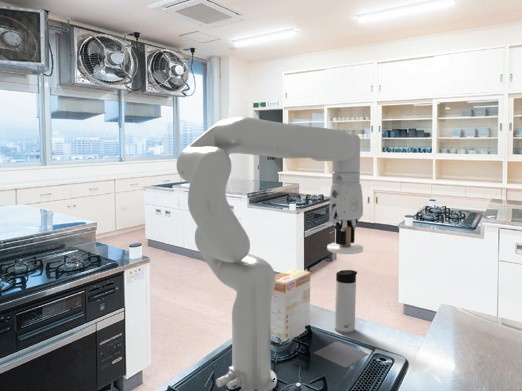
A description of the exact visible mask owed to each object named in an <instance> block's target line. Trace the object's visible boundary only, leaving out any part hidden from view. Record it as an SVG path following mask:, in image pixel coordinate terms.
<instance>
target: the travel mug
mask: <svg viewBox="0 0 522 391" xmlns="http://www.w3.org/2000/svg"><path fill="white" fill-rule="evenodd" d="M357 274H358V271H357V270H353V269H345V270H339V271H337V272H336V279H335V307H334V308H335V312H334V330H335V332H337V333H339V334H341V335H343V334H344V335H351V334H354V333H355V331H356V330H355V329H356V299H357V297H356V296H357V295H356V293H357Z"/></svg>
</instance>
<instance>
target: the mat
mask: <svg viewBox="0 0 522 391" xmlns="http://www.w3.org/2000/svg"><path fill="white" fill-rule="evenodd" d="M336 341H337V340H336ZM336 341H334V342H332V343H331V344H329V345H328V344H327V345H326V346H324V347H321V348H320V349H318V350H316V351H314V352H313V354H315V355H317V356H319V357H321V358H323V359H325V360H327V361H330V362H331V363H334V364H336V365H338V366H340V367H343V368H347V367H349V366H351V365H353V364H355V363H356V362H358V361H359V360H361V359H363V358H365V357H367V356H368V355H369V353H367V352H364V351H362V350H360V349H358V348H355V347H353V346H350V345H347V344H345V343H343V342H341V341H337V342H336Z"/></svg>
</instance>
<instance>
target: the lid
mask: <svg viewBox="0 0 522 391" xmlns="http://www.w3.org/2000/svg"><path fill="white" fill-rule="evenodd" d="M344 231H346V245H340V244H336V242H332V243H329V244H328V243H327V246H326V250H327V252H330V253H334V254H340V255H341V254H342V255H356V254H357V255H358V254H361V253H363V251H364V246H363V245H361V244H358V243H355V242H354V243H351V227H348V226H346V225H345V230H344Z"/></svg>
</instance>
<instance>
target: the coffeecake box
mask: <svg viewBox="0 0 522 391" xmlns="http://www.w3.org/2000/svg"><path fill="white" fill-rule="evenodd" d="M310 313H311V271H306V270H302V269H299V268H298V269H297V268H291V269H289V270H286V271H284V272H281V273H278V274H275V286H274V291H273V296H272V303H271V336H274V337H278V338H280V339H282V340H286V339H289V338H292V337H297V336H299V335H300V334H302V333H303V332H304V331H305V330H306V329H305V326H306V325H310V321H311V318H310V317H311V316H310V315H311V314H310ZM310 326H311V325H310ZM299 337H300V336H299Z"/></svg>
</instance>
